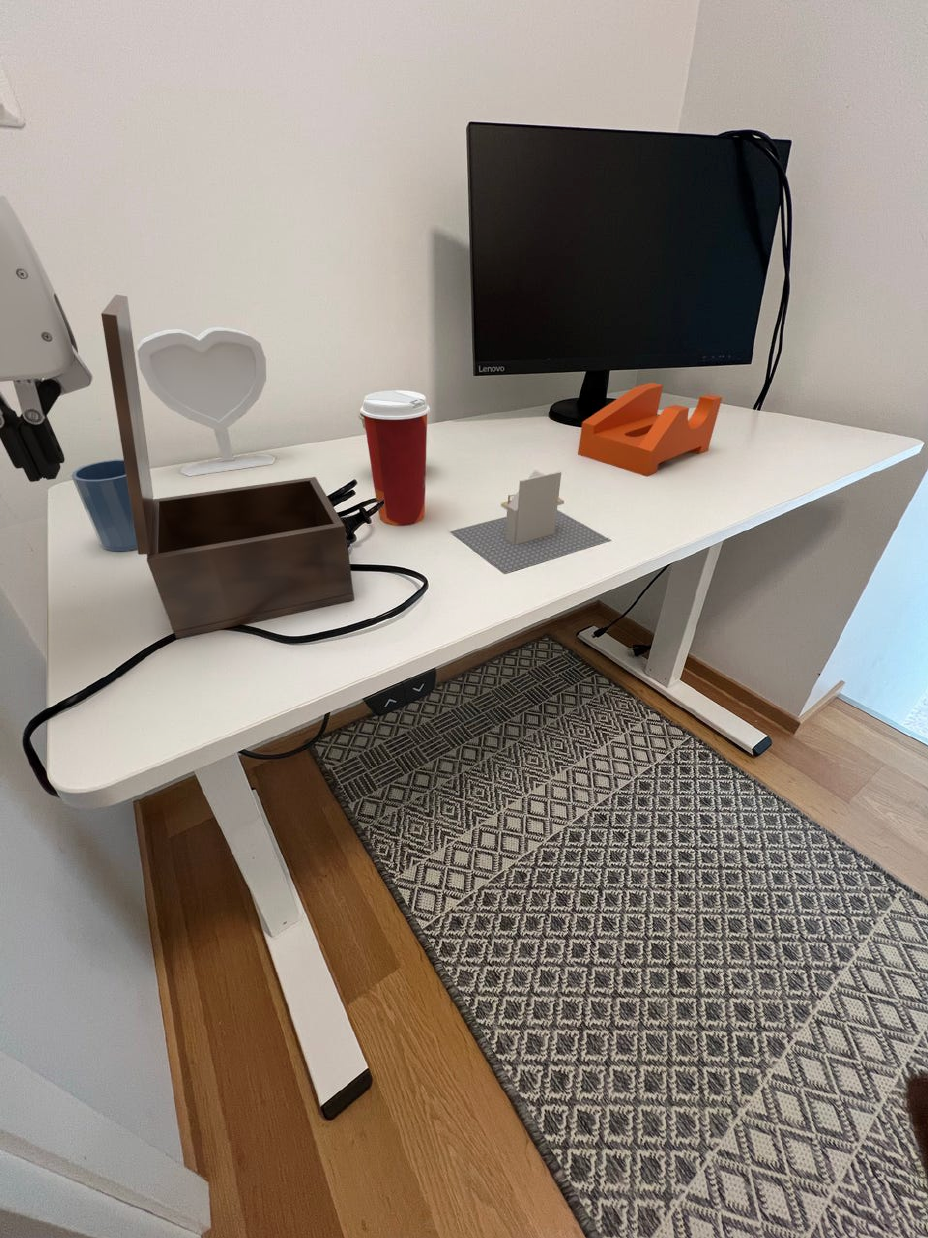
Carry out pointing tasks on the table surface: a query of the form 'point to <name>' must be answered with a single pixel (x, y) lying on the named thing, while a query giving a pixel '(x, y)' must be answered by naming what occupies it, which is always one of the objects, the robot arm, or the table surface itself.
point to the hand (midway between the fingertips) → (46, 474)
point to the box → (247, 555)
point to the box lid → (129, 416)
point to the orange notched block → (647, 430)
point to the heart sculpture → (207, 384)
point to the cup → (107, 503)
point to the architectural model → (530, 528)
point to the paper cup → (397, 452)
